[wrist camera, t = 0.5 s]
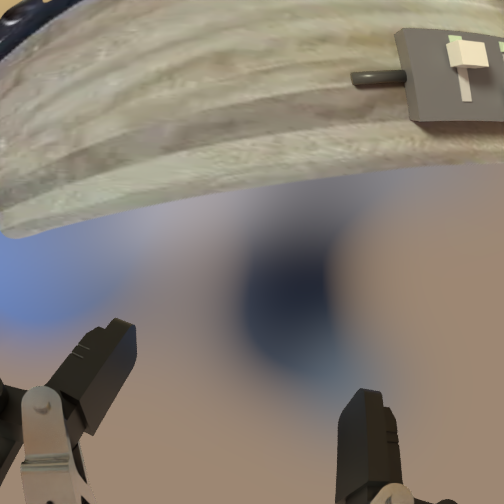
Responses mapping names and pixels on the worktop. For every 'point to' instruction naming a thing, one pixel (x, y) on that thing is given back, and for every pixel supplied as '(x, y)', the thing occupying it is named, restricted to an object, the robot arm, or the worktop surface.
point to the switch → (467, 54)
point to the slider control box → (444, 77)
